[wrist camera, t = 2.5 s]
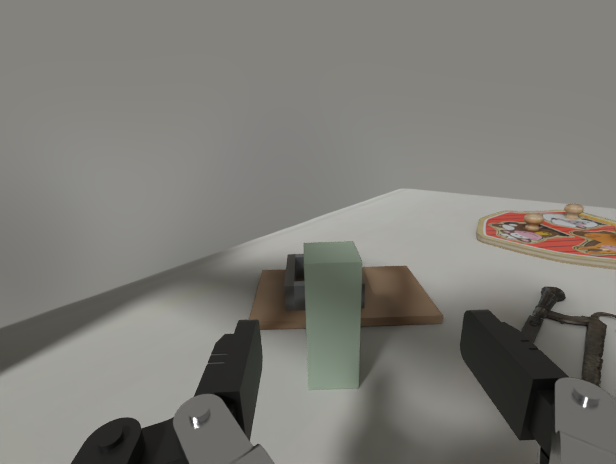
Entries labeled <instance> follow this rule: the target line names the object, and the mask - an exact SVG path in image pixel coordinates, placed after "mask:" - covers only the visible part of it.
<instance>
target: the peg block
mask: <svg viewBox="0 0 616 464" xmlns="http://www.w3.org/2000/svg"><path fill="white" fill-rule="evenodd" d="M304 280H305V308H306V336H307V364H308V390H322V389H350V388H359V358H360V324H361V291H362V260H361V258H360V255H359V253H358V251H357V248H356V246H355V244H354V242H353V241H349V242H318V243H304Z"/></svg>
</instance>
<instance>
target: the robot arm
mask: <svg viewBox="0 0 616 464" xmlns="http://www.w3.org/2000/svg"><path fill="white" fill-rule="evenodd" d="M460 350H461V354H462V357H463V360H464V361H465V363H466V364H467V366H468V367H469V369H470V370H471V371H472V373H473V374H474V376H475V377H476V379H477V380H478V382H479V383H480V384H481V386H482V387H483V389H484V390H485V392H486V393H487V394H488V396H489V397H490V399H491V400H492V402H493V403H494V404H495V406H496V407H497V409H498V410H499V412H500V413H501V415H502V416H503V417H504V419H505V420H506V422H507V423H508V425H509V426H510V427H511V429H512V430H513V432H514V433H515V435H516V436H517V437H518V439H519V440H536V441H537V442H538V443H539V445H540V446H539V450H538V456H537V464H616V400H615V399H614V398H613V397H612V396H611V395H610V394H609V393H607V392H606V391H605V390H603V389H601V388H600V387H598V386H596V385H594V384H592V383H590V382H587V381H584V380H581V379H577V378H570V377H568V376H567V375H566V374H565V373H564V372H563V371H562V370H561V369H560V368H559V367H558V366H557V365H556V364H554V363H553V362H552V361H551V360H550V359H549V358H548V357H547V356H546V355H545V354H544V353H543V352H542V351H540V350H538V348H537V347H536V346H535V345H534V344H533V343H532V342H529V339H528V338H527V337H525V336H524V335H523V334H522V333H521V332H520V331H519V330H517V329H516V328H514V327H512V326H510V325H508V324H507V323H505V322H501V321H500V320H499V319H498V318H497V317H495V316H494V315H493V314H492V313H491V312H490V311H489V310H468V311H466V312H465V314H464V318H463V326H462V334H461V342H460ZM261 372H262V345H261V336H260V326H259V321H258V319H255V320H239V321H238V323H237V326H236V329H235V332H234V334H224V335H223V336H222V337H221V338H220V339H219V340H218V341H217V342H216V344H215V346H214V349H213V351H212V353H211V356H210V358H209V361H208V364H207V366H206V368H205V371H204V373H203V375H202V378H201V380H200V383H199V385H198V388H197V390H196V393H195V395H194V397H193V398H191V399H189V400H187V401H186V402H185V403H184V404H182V405H181V406H180V408H179V409H178V410H177V412H176V413H175V416H174V417H173V418H171V419H169V420H166V421H164V422H161V423H158V424H154V425H151V426H148V427H145V428H142V429H141V426H140V423H139V422H138V421H137V420H136V419H133V418H119V419H116V420H113V421H110V422H108V423H106V424H104V425H103V426H101V427H100V428H98V429H97V430H96V431H94V432H93V433H92V434H91V435H90V436H89V437H88V438H87V440H86V441H85V442H84V444H83V445H82V447H81V449H80V450H79V452H78V453H77V455H76V456H75V458H74V460H73V461H72V463H71V464H274V462H273V461H272V459H271V458H270V456H269V455H268V453H267V452H266V451H265V449H264V448H263V447H262V446H261V445H260V444H257V445H255V446H253V445H252V444H251V443H250V436H251V430H252V425H253V419H254V413H255V407H256V401H257V395H258V389H259V383H260V378H261Z"/></svg>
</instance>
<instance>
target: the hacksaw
mask: <svg viewBox="0 0 616 464" xmlns="http://www.w3.org/2000/svg"><path fill="white" fill-rule="evenodd" d="M541 293H542V294H543V295H542V297H541V300H540V301H539V304H538V306H536V308H535V310H534V312H533V315H534V316H535V317H534V316H531V315H530V316H529V318H528V320H527V321H526V323H525V325H524V327H523V329H522V331H521V333H522V334H523V335H524V336H525V337H527V338H528V339H529V342H532V343H534V340H535V338H536V336H537V333H538V331H539V329H540V327H541V324H542V322H543V319H544V318H546V317H548V318H551V319H555V320H558V321H562V322H566V323H571V324H580V325H588V331H587V339H586V347H585V356H584V363H583V372H582V380H584V381H587V382H590V383H592V384H594V385H596V386H598V387H600V386H599V385H600V382H601V381H600V378H601V372H600V371H601V368H602V363H603V360H602V359H601V357H602V355H603V351H604V349H603V347H604V339H605V335H606V328H607V325H606V324H604V323H603V322H601V321H600V320H599V316H601V315H604V316H612V317H615V318H616V315H613V314H609V313H604V312H597V313H594V314H593V315H591V317H585V316H581V317H579V316H568V315H563V314H560V313H556V312H553V311H550V309H551V308H552V307H553V305H554V304H555V303H556V302H559V301H562V300H564V299H565V298H566V297H565V294H564V292H563V291H562V290H561V289H559V288H557V287H544V288H542V291H541ZM540 318H543V319H540ZM562 322H560V323H561V324H563V323H562ZM600 388H601V387H600Z"/></svg>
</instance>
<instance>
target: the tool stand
mask: <svg viewBox="0 0 616 464" xmlns="http://www.w3.org/2000/svg"><path fill="white" fill-rule="evenodd" d="M442 317H443V315H442V314H441V312H440V311H439V310H438V308H437V307H436V305H435V304H434V303H433V301H432V300H431V299H430V297H429V296H428V295H427V293H426V292H425V290H424V289H423V288H422V286H421V285H420V284H419V282H418V281H417V280H416V278H415V277H414V276H413V274H412V273H411V271H410V270H409V269H408V267H407V266H384V267H362V291H361V324H360V326H384V325H414V324H442ZM255 319H258V321H259V326H260V330H267V329H296V328H306V308H305V280H304V254H291V255H288V258H287V267H286V270H262V274H261V278H260V281H259V285H258V288H257V292H256V296H255V299H254V303H253V307H252V310H251V314H250V317H249V320H255Z"/></svg>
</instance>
